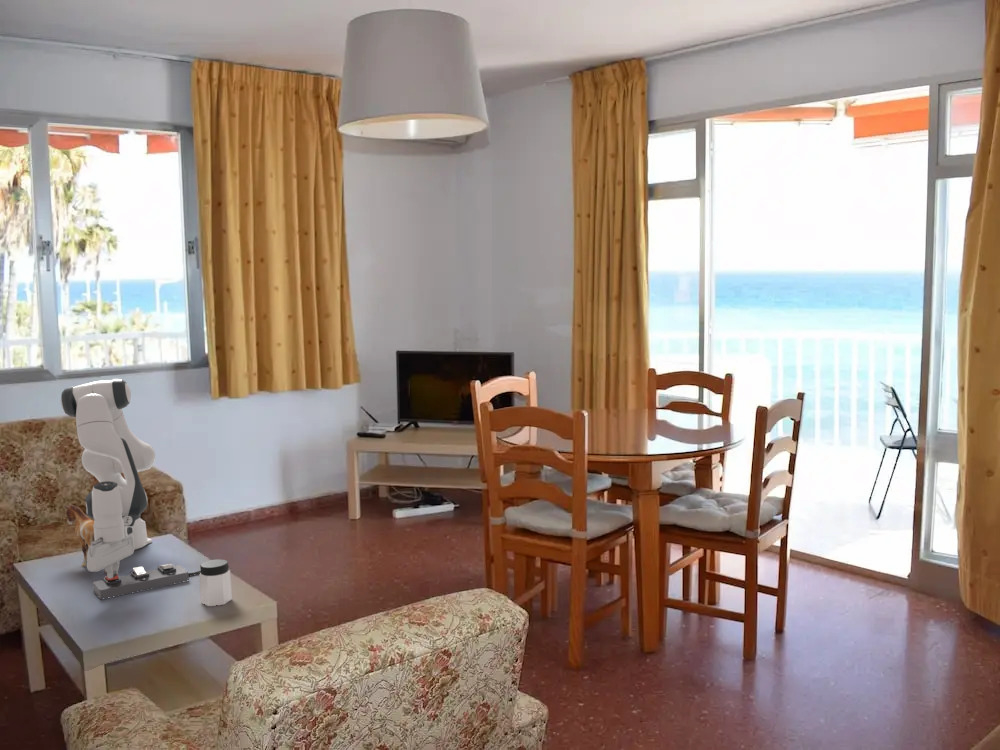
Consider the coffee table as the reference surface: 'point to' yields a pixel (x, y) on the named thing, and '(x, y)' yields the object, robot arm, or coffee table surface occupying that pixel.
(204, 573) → the jar
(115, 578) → the red rocker
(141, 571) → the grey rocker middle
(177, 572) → the grey switch panel
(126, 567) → the coffee table surface
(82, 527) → the horse figurine
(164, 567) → the grey rocker end
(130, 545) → the robot arm
